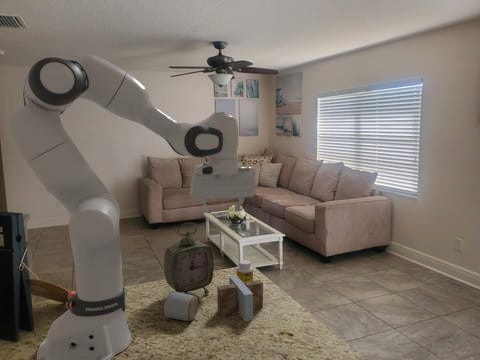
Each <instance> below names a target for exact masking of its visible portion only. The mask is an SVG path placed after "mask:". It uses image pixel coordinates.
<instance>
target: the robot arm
mask: <svg viewBox="0 0 480 360" xmlns="http://www.w3.org/2000/svg"><path fill="white" fill-rule="evenodd" d="M22 92H23V93H22V94H23V95H22V97H23V107H20V108H18V109H17V110H15V111H14V112H13V113H12V114H11V115H10V116H9V119H8V120H7V130H8V132H9V133H10V134H9V135H10V136H11V139H12V140H13V142H14V144H15V146H16V148H17V150H18V151H19V153H20V154H21V156H22V158H23V160H24V161H25V162H26V163H27V165H28V167H29V168H30V169H31V171H32V172H33V173H34V175H35V176H36V178H37V179H38V180H39V182H40V183H41V184H42V186H43V187H44V189H45V190H46V191H47V192H48V193H49V194H51V195H52V196H53V197H54V198H55V199H56V200H57V201H58V202H59V203H60V204H61V205H62V206H63V207H64V208H65V209H66V210H67V212H68V213H69V215H70V216H69V219H68V234H69V240H70V245H71V246H70V248H71V251H72V252H71V253H72V257H73V258H72V259H73V262H74V268H75V282H76V291H75V290H70V291H69V292H68V295H67V300H68V309H67V310H66V311H65V312H64V313H63V314H61V315H60V316H59V317H58V318H57V319H55V320H54V321H53V322H52V324H51V325H50V327H49V329H48V332H47V334H46V338H45V339H44V340H43V341H42V342H41V343H40V345H39V347H38V349H37V352H36V360H112V359H113V358H114V357H115V356H116V355H117V354H119V353H121V352H123V351H125V349H127V348H128V347H129V346H130V344H131V343H132V340H133V336H132V334H131V331H130V329H129V324H128V320H127V314H126V308H127V297H126V295H127V294H126V290H125V287H124V286H123V285H124V281H123V264H122V262H123V261H122V251H121V237H120V214H121V208H120V205H119V203H118V201H117V200H116V198H115V197H114V196H113V195H112V193H111V192H110V190H109V189H108V187H107V186H106V185H105V184H104V182H103V181H102V180H101V179H100V178H99V176H98V175H97V174H96V173H95V172H94V170H93V169H92V168H91V166H90V165H89V164H88V162H87V161H86V159H85V157H84V156H83V154H82V153H81V151H80V150H79V149H78V147H77V146H76V144H75V142H74V141H73V140H72V138H71V136H70V135H69V134H68V133H67V131H66V130H65V129H64V126H63V124H62V121H61V115H62V114H63V113H64V112H66V110H68V109H69V108H70V107H72V105H73V104H74V103H75V101H76V100H78V99H83V100H88V101H91V102H93V103H95V104H96V105H97V106H99V107H101V108H103V109H105V110H106V111H108V112H109V113H111V114H114V115H116V116H118V117H121V118H122V119H125V120H128V121H131V122H133V123H134V122H135V123H137V124H140V125H142V126H144V127H145V128H147V129H149V130H150V131H152V132H153V133H155V134H156V135H159V137H161V138H163V139H164V140H165V141H166V142H167V144H168V145H169V146H170V148H171V150H173V152H175V154H177V155H179V156H184V157H192V158H195V159H196V158H197V159H201V158H205V157H208V161H206V162H203V163H201V164H197V165H195V166H194V167H193V172H194V174H193V175H192V177H191V180H190V184H189V185H190V186H189V187H190V189H189V196H190V197H191V198H192V199H193V200H201V203H202V204H203V206H204V207H205V208H204V209H205V214H212V206H208V204H207V203H208V202H209V199H210V200H212V199H213V200H214V199H215V200H216V199H232V198H234V199H235V198H237V199H238V202H237V204H234V205H233V206H234V212H241V210H242V209H241V207H242V205H243V204H244V202H245V198H252V197H254V196H255V194H256V182H255V179H256V170H255V169H253V168H252V167H251V166H250V167H249V166H245V167H243V166H241V167H240V166H239V155H238V146H239V140H240V139H239V138H240V137H239V136H240V135H239V134H240V133H239V125H238V121H237V118H236V117H235V116H233V115H231V114H227V113H222V112H214V113H212V114H210V116H209V117H206V118H205V119H204V120H202V121H199V122H196V123H192V124H191V123H184V122H179V121H176V120H174V119H173V118H172V117H170V116H169V115H167V114H166V113H165V112H162V111H161V110H160V109H158V108H157V107H156V106H155V105H154V104H153V103H152V101H151V98H150V94H149V91H148V89H147V88H146V86H144V84H142V82H140V80H138V79H137V78H135V77H134V76H133V75H132V74H130V73H128V72H127V71H126V70H124V69H122V68H120V67H119V66H117V65H115V64H114V63H112V62H110V61H108V60H107V59H103V58H102V57H99V56H97V55H94V54H83V55H82V56H79V58H78V59H76V60H73V59H64V58H61V57H52V56H51V57H45V58H42V59H40V60H38V61H37V62H35V63H34V64H33V65H32V66H31V68H30V69H29V72H28V73H27V74H26V77H25V79H24V85H23V91H22Z"/></svg>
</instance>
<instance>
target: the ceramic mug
mask: <svg viewBox="0 0 480 360" xmlns="http://www.w3.org/2000/svg"><path fill="white" fill-rule="evenodd" d="M163 309H164V315H165V317H166V318H167V319H172V320H173V319H175V320H178V321H185V322H189V321H190V322H191V321H193V320H194V319H195V318H196V316H197V314H198V309H199V300H198V298H197V296H195V295H193V294H188V293H184V292H183V293H180V292H176V291H175V290H173V291H172V290H171V291H170V292H169V293H168V294H167V297H166V299H165V302H164V308H163Z"/></svg>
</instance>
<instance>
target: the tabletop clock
mask: <svg viewBox="0 0 480 360" xmlns="http://www.w3.org/2000/svg"><path fill="white" fill-rule="evenodd" d="M188 225H189V226H190V225H192V226H194V227H195V230H193V231H192V232H190V231H189V230H187V231H186V230H185V231H186V232H185V233H181V232H180V230H181V228H183V227H184V226H185V227H186V226H188ZM197 231H198V225H197V224H196V223H194V222H191V221H190V222H184V223H182V224H181V225H179V227H178V228H177V233H178V235H180V236H183V237H182V238H181V239H180V241H179V242H178V243H174V244H171V245H169V246H168V247H166V249H165V252H164V259H163V264H164V265H163V269H164V271H163V272H164V277H165V281H166V283H167V284H168V286H169V287H171V288H172V290H173V291H176V292H180V293H184V294H188V293H189V292H194V291H198V290H200V289H202V290H204V291H203V293H204V294H205V295H208V294H209V292H210V291H209V289H207V288H206V287H207V286H209V285H211V284H212V282H213V278H214V270H215V269H214V267H215V262H214V254H213V250H212V247H210V246H209V245H207V244H205V243H203V242H202V241H199V240H196V239H195V237H194V236H192V235H193V234H195V233H196V232H197Z"/></svg>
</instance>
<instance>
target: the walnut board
mask: <svg viewBox="0 0 480 360" xmlns="http://www.w3.org/2000/svg"><path fill="white" fill-rule="evenodd" d="M245 285H246V287H247V288H248V289H249V290H250V291H251V292H252V293H253V310H254V309H255V310H257V309H260V308H264V282H263V281H262V280H261V279H256V280H253V281H249V282H245ZM216 287H217V291H216V292H217V298H216V299H217V313H218V314H219V315H220V316H222V315H227V314H232V313H233V314H234V313H237V312H238V313H239V300H238V299H237V297H236V286H235V285H234V284H224V285H218V286H216Z"/></svg>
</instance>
